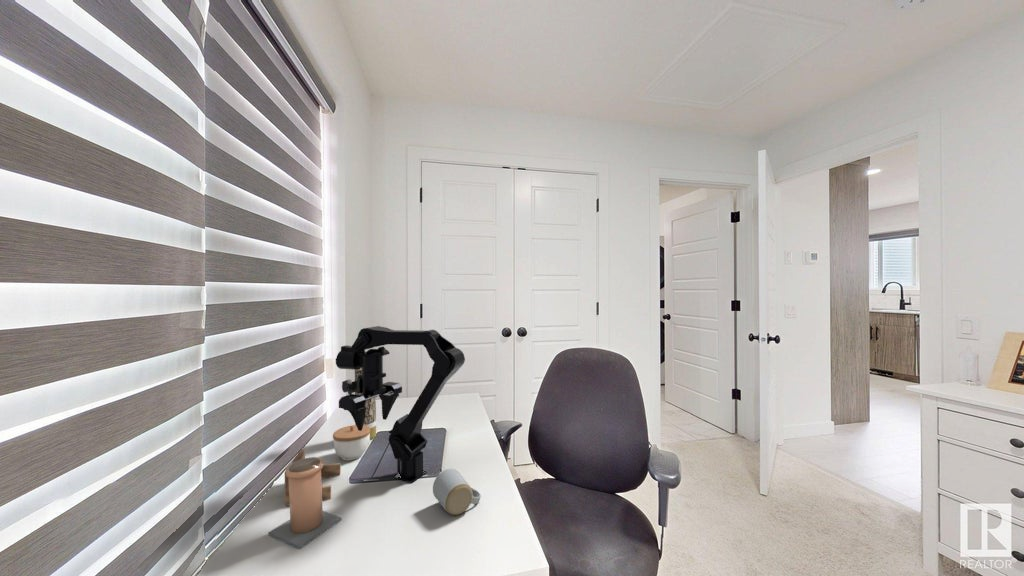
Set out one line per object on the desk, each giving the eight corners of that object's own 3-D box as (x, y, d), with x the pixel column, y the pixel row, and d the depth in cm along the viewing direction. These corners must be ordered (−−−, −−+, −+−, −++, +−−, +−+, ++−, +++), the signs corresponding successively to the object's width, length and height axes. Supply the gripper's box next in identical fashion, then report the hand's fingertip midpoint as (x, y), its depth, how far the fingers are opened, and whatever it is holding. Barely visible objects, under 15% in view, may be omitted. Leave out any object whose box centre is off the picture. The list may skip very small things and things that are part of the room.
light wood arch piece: (340, 473, 103) (340, 445, 103) (330, 498, 91) (330, 466, 91) (301, 478, 101) (300, 449, 101) (285, 505, 88) (284, 472, 88)
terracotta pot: (329, 511, 84) (326, 454, 84) (320, 531, 77) (318, 470, 77) (294, 516, 83) (292, 459, 82) (282, 538, 76) (279, 475, 75)
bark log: (371, 441, 125) (370, 368, 125) (351, 441, 125) (351, 368, 125) (379, 433, 131) (378, 364, 131) (360, 433, 131) (359, 364, 131)
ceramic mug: (446, 522, 81) (446, 487, 81) (431, 504, 88) (432, 472, 88) (487, 506, 87) (487, 474, 87) (471, 491, 94) (471, 461, 94)
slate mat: (341, 520, 82) (341, 517, 82) (299, 548, 73) (299, 545, 73) (311, 509, 86) (311, 506, 86) (268, 535, 77) (268, 532, 77)
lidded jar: (361, 464, 109) (361, 432, 109) (326, 464, 109) (325, 432, 109) (375, 448, 119) (375, 419, 119) (343, 448, 120) (343, 419, 120)
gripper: (375, 362, 117) (376, 410, 117) (324, 375, 100) (324, 432, 100) (403, 365, 112) (403, 415, 112) (353, 379, 95) (354, 438, 95)
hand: (372, 424), depth 105 cm, fingers open, 9 cm apart
